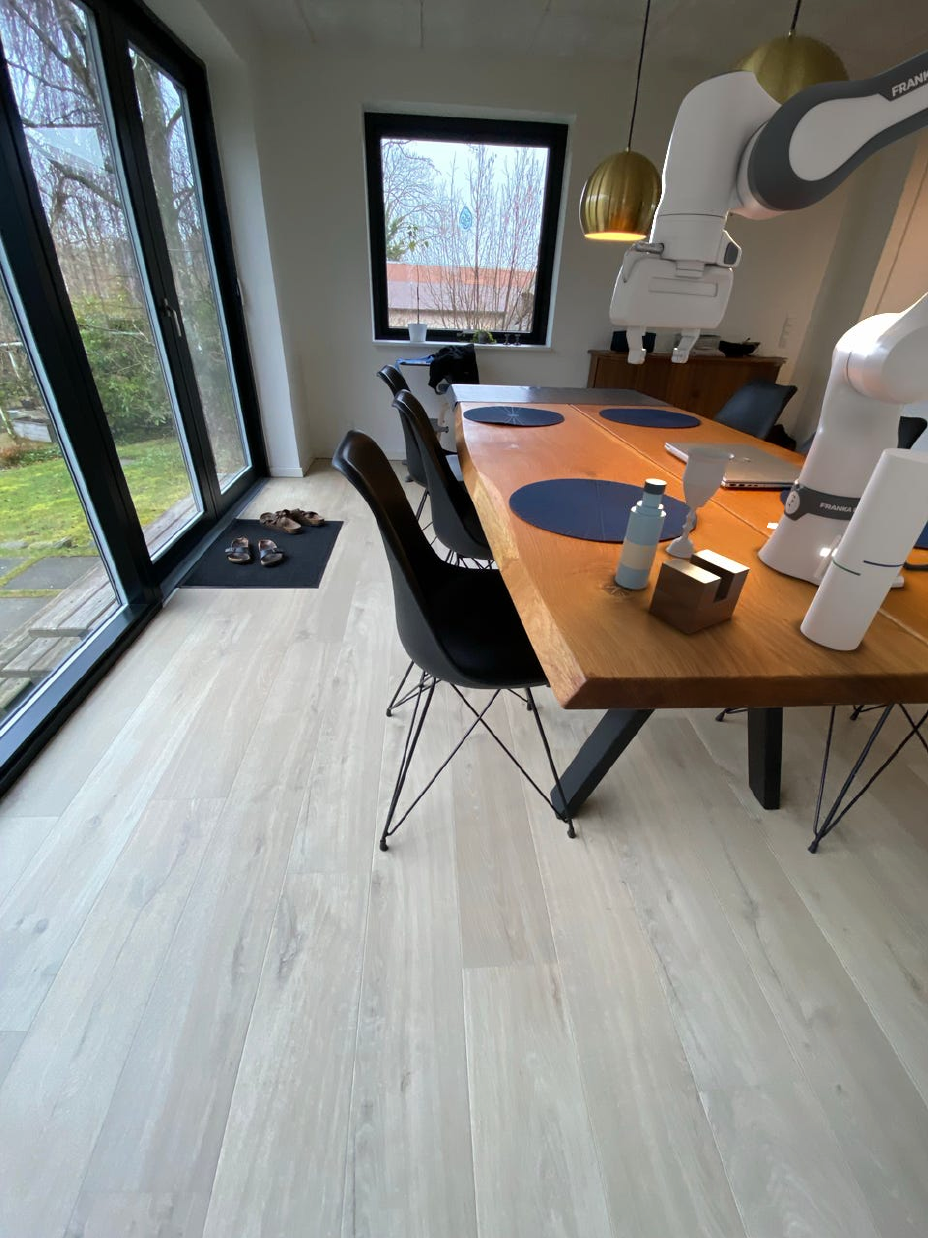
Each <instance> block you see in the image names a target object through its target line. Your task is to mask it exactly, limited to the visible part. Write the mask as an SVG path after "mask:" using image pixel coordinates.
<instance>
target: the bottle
mask: <svg viewBox="0 0 928 1238" xmlns="http://www.w3.org/2000/svg"><path fill="white" fill-rule="evenodd" d="M667 484H668V483H667V482H666V481H664V480H662V479H658V478H647V479H645V480H644V484H643V488H642V489H643V493H642V494H643V495H642V499H641V500H639V501H637V503H636V505H635V506H632V508H631V509H630V514H629V519H628V523H627V527H626V532H625V535H624V539H623V543H622V546H621V552H620V555H619V562H618V565H617V569H616V575H615V579H614V581H615V583H616V584H617V585H619V586H621V587H623V588H626V589H630V590H642V589H645V588H647V586H648V582H649V579H650V575H651V573H652V572H651V571H652V568H653V566H654V562H655V557H656V554H657V551H658V547H659V543H660V538H661V535H662V531H663V527H664V523H665V519H666V517H667V513H666V512H665V510H664V505H663V504H662V503H661V502H662V498H663V495H664V494H665V492H666V489H667Z"/></svg>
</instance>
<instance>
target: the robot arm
mask: <svg viewBox="0 0 928 1238" xmlns="http://www.w3.org/2000/svg"><path fill="white" fill-rule="evenodd" d="M927 128H928V49H926V50H924V51H922V52H920V53H918V54H917V55H914V56H912V57H911V58H908V59H906V60H905V61H902V62H901V63H898V64H896V65H895V66H892V67H891V68H888V69H886V70H884V71H883V72H880V73H879V74H876V75H875V76H871V77H868V78H863V79H857V80H836V81H834V80H833V81H825V82H820V83H816V84H812V85H810V86H807V87H805V88H802V90H799V91H798V92H797V93H794V94H793V95H792V96H790V97H789V98H788V99H787V100H786V101H784V103H783V104H781V103H779V102H778V101H776V100H775V99H774V98H773V97H772V96H770V94H769V93H768V92H767V91H766V90H765V89H764V88H763V87H762V86H761V84H760V83H759V81H758V79H757V77H756V74H755V73H754V72H753V71H751V70H747V69H741V68H740V69H731V70H726V71H723V72H719V73H716V74H713V75H710V77H707V78H705V79H702V80H701V81H700V82H698V83H697V84H695V86H694V87H693V88H692V89H691V90H690V91H689V92H688V94H686V96H685V97H684V98H683V100H682V102H681V104H680V106H679V109H678V112H677V115H676V118H675V121H674V124H673V128H672V132H671V136H670V139H669V144H668V148H667V153H666V157H665V161H664V167H663V170H662V171H663V172H662V194H661V198H660V201H659V204H658V207H657V209H656V211H655V214H654V217H653V218H654V219H653V223H652V229H651V234H650V239H649V242H646V241H644V240H638V241H635V242H634V244H632V245H631V246H630V247H629V248H628V250H626V252H625V253H624V256H623V261H622V266H621V268H620V270H619V273H618V275H617V278H616V282H615V286H614V290H613V293H612V297H611V301H610V306H609V312H608V316H609V321H610V323H611V324H612V325H615V326H627V329H626V335H625V336H626V340H627V344H628V349H629V352H628V357H627V362H628V363H629V364H633V365H638V364H639V365H642V364H643V363H645V357H646V355H647V349H644V348H643V337H644V336H646V331H647V328H648V327H651V328H652V327H656V328H682V330H681V335H680V336H681V337H682V338H681V339H680V342H679V344H678V346H677V348H673V351H672V356H671V358H670V359H671V362H672V363H675V364H676V363H677V364H685V363H687V362H688V360H689V355H690V351H691V350H692V348H693V347H694V345H695V344H696V343H697V340H698V339H699V338H700V334H701V330H702V329H716V328H717V327H718V326H719V325H720V323H721V322H722V320H723V318H724V316H725V313H726V309H727V306H728V303H729V300H730V296H731V292H732V287H733V284H734V271H733V269H735V268H737V267H738V266H739V264H740V262H741V257H742V255H743V251H742V248H741V247H740V246H739V245H738V244H737V243H736V242H735V241H734V240H733V238H731V236H730V235H729V233H728V232H727V231H726V230H725V226H726V223H727V217H728V215H729V213H730V214H733V215H737V216H741V217H744V218H747V219H749V220H752V221H763V220H768V219H773V218H775V217H777V216H780V215H783V214H786V213H788V212H791V211H797V210H802V209H805V208H808V207H811V206H813V205H816V204H817V203H818V202H820V201H822V200H824V199H825V198H826V197H828V196H829V195H830V194H832V193H833V192H834V191H835V190H836V189H838V187H839V186H841V185H842V184H843V183H844V182H845V181H846V180H847V179H848V178H849V177H850V176H851V175H852V173H854V172H855V171H856V170H857V169H858V168H859V167H860V166H861V165H862V164H863V163H864V162H865V161H867V160H868V159H869V158H870V157H871V156H874V155H875V154H877V153H878V152H880V151H882V150H884V149H886V148H888V147H890V146H892V145H894V144H896V143H898V142H900V141H902V140H905V139H906V138H908V137H910V136H912V135H914V134H916V133H918V132H920V131H922V130H924V129H927ZM732 268H733V269H732ZM642 336H643V337H642ZM830 369H831V370H830V374H829V376H828V377H829V378H828V381H827V385H826V389H825V393H824V397H823V401H822V402H823V403H822V407H821V412H820V417H819V420H818V425H817V429H816V432H815V434H814V437H813V441H812V443H811V445H810V448H809V451H808V453H807V455H806V459H805V461H804V463H803V466H802V469H801V471H800V474H799V475H798V478H797V479H795V480H794V482H793V483H792V486H791V488H790V491H789V493H788V495H787V499H786V501H785V504H784V507H783V513H782V515H781V517H780V519H779V521H778V522H777V523H774V522H773V523H771V522H769V523H768V525H767V528H769V529H774V530H773V531H772V533H771V534H770V536H769V538H768V539H767V541H766V542H765V543H764V545H763V546H762V547H761V549H759V551H758V553H757V555H758V556H757V557H758V558H759V560H761V561H762V562H763V563H764V564H765V565H767V566H768V567H770V568H771V569H774V570H776V571H778V572H780V573H782V574H785V575H786V576H787V575H788V576H790V577H793V578H797V579H800V580H803V581H806V582H810V583H811V584H813V585H816V586H819V587H820V585H821V582H822V580H823V578H824V576H825V574H826V572H827V570H828V568H829V565H830V563H831V561H832V559H833V557H834V555H835V553H836V551H837V549H838V546H839V544H840V542H841V540H842V538H843V536H844V534H845V532H846V529H847V527H848V525H849V523H850V521H851V519H852V517H853V515H854V513H855V510H856V508H857V506H858V504H859V502H860V500H861V498H862V496H863V494H864V491H865V489H866V487H867V485H868V483H869V481H870V479H871V477H872V474H873V472H874V470H875V468H876V466H877V464H878V462H879V460H880V458H881V455H882V453H883V451H884V450H885V449H888V448H898V446H899V426H900V420H901V414H902V410H903V407H904V405H909V404H915V403H921V402H927V401H928V291H927V292H926V293H925V294H924V295H922V297H921V298H919V300H917V301H916V302H915V303H914V304H913V305H911V306H910V307H908V308H907V309H905V310H904V311H902V312H900V313H881V314H876V315H873V316H871V317H869V318H867V319H865V320H862V321H861V322H859V323H857V324H856V325H853V327H851V328H850V329H849V330H847V331H846V332H845V333H844V334H843V335H842V336H841V338H840V339H839V340H838V341H837V343H836V345H835V346H834V349H833V351H832V356H831V368H830ZM902 568H904V569H907V570H917V571H918V570H919V571H921V570H922V571H923V570H928V563H925V564H923V563H922V564H912V563H909V562H907V560H906V561H905V562H904V564H903V566H902ZM904 584H905V579H904V576H903V575H902V574H901V573H900V572H899V573H898V575H897V577H896V579H895V581H894V582H893V584H892V586H891V588H902V587H903V586H904Z"/></svg>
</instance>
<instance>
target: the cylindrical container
mask: <svg viewBox="0 0 928 1238" xmlns="http://www.w3.org/2000/svg"><path fill="white" fill-rule="evenodd" d="M927 523H928V451H923V450H917V449H910V448H901V447H900V448H898V447H897V448H888V449H885V450H884V451H883V453H882V455H881V458H880V460H879V462H878V464H877V466H876V468H875V470H874V472H873V474H872V477H871V479H870V481H869V483H868V485H867V487H866V489H865V491H864V494H863V496H862V498H861V500H860V502H859V504H858V506H857V508H856V510H855V513H854V515H853V517H852V519H851V521H850V523H849V525H848V527H847V529H846V532H845V534H844V536H843V538H842V540H841V542H840V544H839V546H838V549H837V551H836V553H835V555H834V557H833V559H832V561H831V563H830V565H829V568H828V570H827V572H826V574H825V576H824V578H823V580H822V582H821V585H820V586H819V587H818V589H817V591H816V593H815V594H814V598H813V599H812V602H811V604H810V606H809V608H808V609H807V612H806V615H805V616H804V619H803V620H802V623H801V624H800V631H801V633H802V634H803V635H804V636H805V637H806V638H808V639H809V640H811V641H813V642H814V643H816V644H818V645H820V646H824V647H826V648H829V649H833V650H839V651H852V650H855V649H857V648H858V647H859V645H860V644H861V642H862V640H863V638H864V637H865V635H866V633H867V631H868V630H869V627H870V626H871V624H872V622H873V620H874V618H875V617H876V615H877V614H878V612H879V609H880V608H881V606H882V605H883V602H884V600H885V599H886V597H887V595H888V593H889V591H890V590H891V588H892V587H891V586H892V584H893V582H894V581H895V579H896V577H897V575H898V573H900V571H901V569H902V568H903V567H902V566H903V564H904V562H905V561H906V562H907V559H908V558H909V555H910V553H911V552H912V550H913V549H914V547H915V545H916V543H917V541H918V540H919V538H920V535H921V534H922V532H923V531H924V529H925V527H926V525H927Z"/></svg>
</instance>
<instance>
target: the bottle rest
mask: <svg viewBox="0 0 928 1238" xmlns="http://www.w3.org/2000/svg"><path fill="white" fill-rule="evenodd" d="M750 569H751V568H750V567H747V566H745V565H743V564H741V563H738V562H736V561H735V560H732V559H729V558H728V557H725V556H723V555H721V554H718V553H716V552H713V551H712V550H709V549H704V550H701V551H697V552H694V553H693V554H692V556H691V558H689V562H688V561H686V560H683V558H680V557H676V558H673V559H670V560H666V561H662V562H661V566H660V569H659V573H658V576H657V580H656V584H655V586H654V587H655V588H654V590H653V594H652V598H651V601H650V605H649V609H648V612H649V613H650V614H652V615H654V616H655V617H657V618H659V619H660V620H662V621H664V622H666V623H667V624H668V625H671V626H672V627H674V628H676V629H678V630H679V631H681V632H683V633H684V634H685V635H691V634H693V633H695V632H698V631H701V630H702V629H706V628H708V627H711V626H714V625H715V624H718V623H720V622H723V621H726V620H728V619H731V618H732V616H733V615H734V611H735V609H736V606H737V603H738V602H739V599H740V596H741V594H742V591H743V588H744V585H745V582H746V580H747V577H748V575H749V572H750Z"/></svg>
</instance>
